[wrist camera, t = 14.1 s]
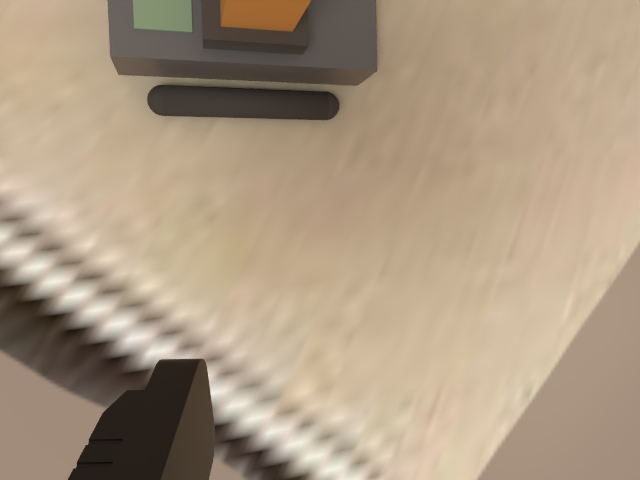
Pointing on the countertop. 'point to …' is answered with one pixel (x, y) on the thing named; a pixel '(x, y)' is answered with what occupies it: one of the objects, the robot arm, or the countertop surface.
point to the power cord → (242, 103)
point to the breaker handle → (256, 25)
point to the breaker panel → (196, 62)
